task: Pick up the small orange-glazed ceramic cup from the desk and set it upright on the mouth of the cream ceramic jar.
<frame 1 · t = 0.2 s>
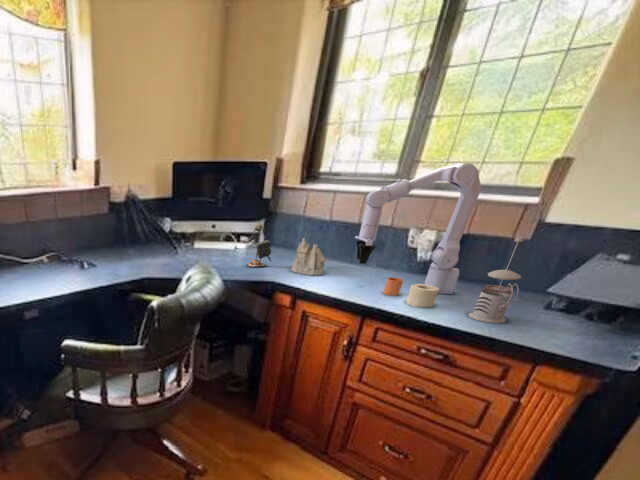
hand: (361, 261, 165), 10 cm above the table, tool pointing down, fingers open, 7 cm apart
cup: (391, 293, 160), on the table
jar: (419, 303, 149), on the table
ceramic cottage: (309, 271, 193), on the table
french press: (488, 318, 135), on the table
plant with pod: (258, 266, 203), on the table
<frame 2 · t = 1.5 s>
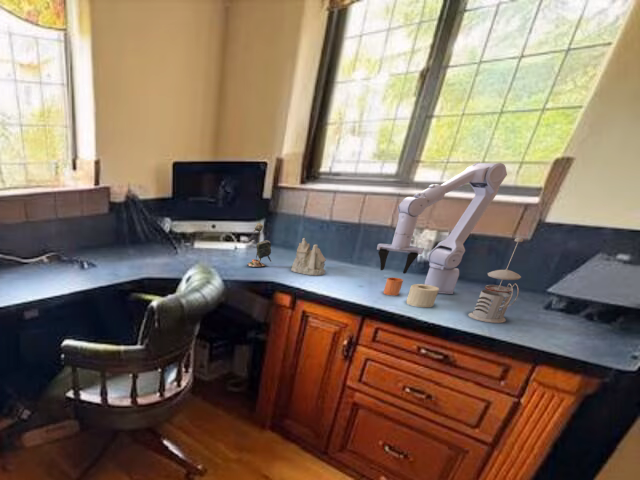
hand: (393, 271, 157), 8 cm above the table, tool pointing down, fingers open, 7 cm apart
nothing on the table moved.
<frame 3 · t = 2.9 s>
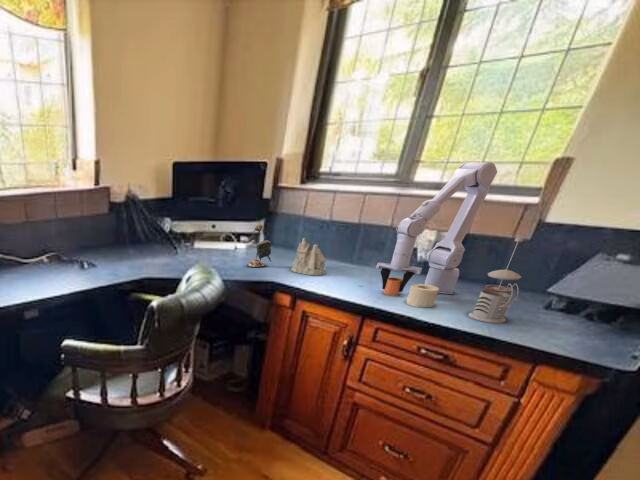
hand: (392, 289, 160), 1 cm above the table, tool pointing down, fingers closed on cup, 5 cm apart
cup: (391, 293, 160), on the table, touching gripper
everything else where it was.
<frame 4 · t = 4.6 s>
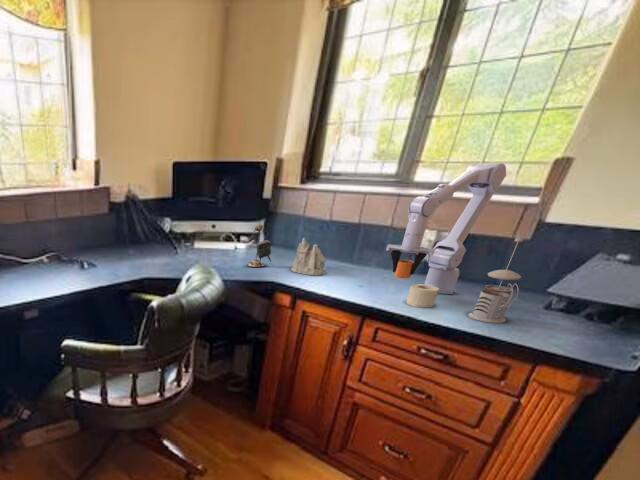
hand: (403, 272, 154), 9 cm above the table, tool pointing down, fingers closed on cup, 5 cm apart
cup: (402, 276, 155), point 7 cm above the table, touching gripper
everything else where it was.
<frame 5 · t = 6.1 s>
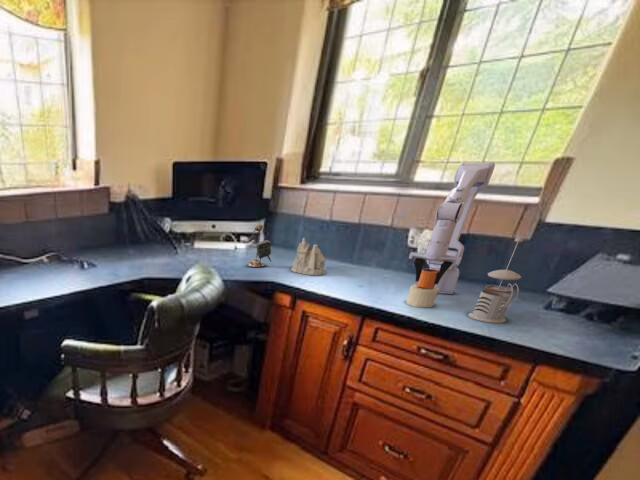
hand: (426, 282, 145), 8 cm above the table, tool pointing down, fingers closed on cup, 5 cm apart
cup: (425, 286, 146), point 6 cm above the table, touching gripper
everything else where it was.
when the fingers open (7 cm above the table, at t = 6.7 s): cup stays where it is, resting on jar.
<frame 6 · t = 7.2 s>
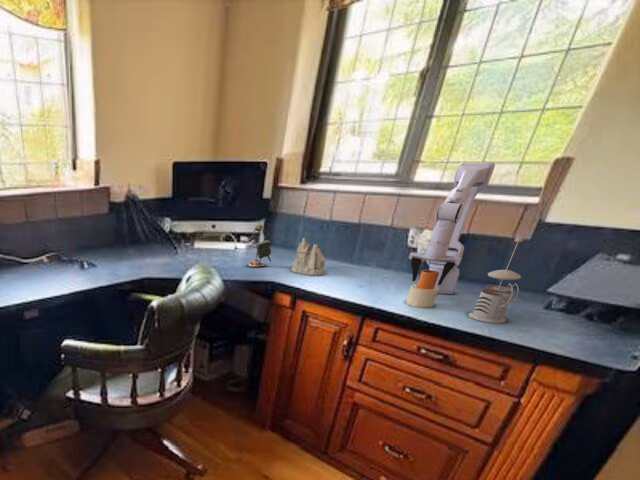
hand: (426, 282, 145), 8 cm above the table, tool pointing down, fingers open, 7 cm apart
cup: (425, 287, 146), point 6 cm above the table, touching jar
everything else where it was.
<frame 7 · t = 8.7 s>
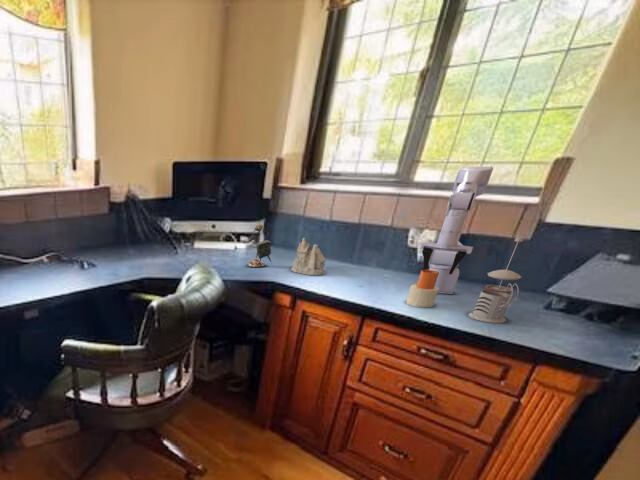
hand: (437, 272, 147), 10 cm above the table, tool pointing down, fingers open, 7 cm apart
nothing on the table moved.
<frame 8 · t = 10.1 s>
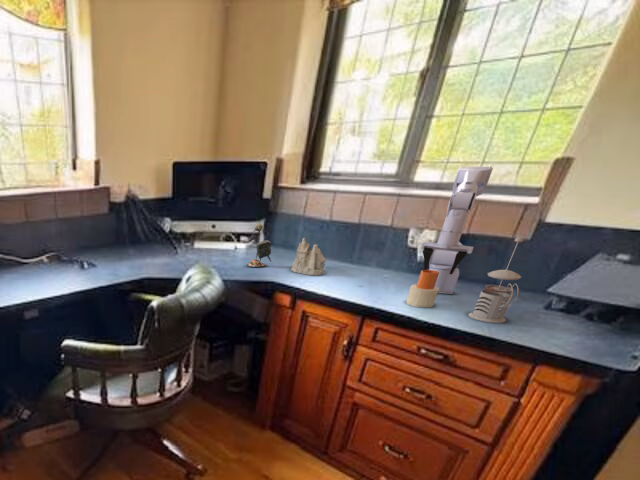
hand: (438, 271, 147), 10 cm above the table, tool pointing down, fingers open, 7 cm apart
nothing on the table moved.
at the end: cup 0.1 cm off-centre on the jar, point 6.0 cm above the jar's base; cup tilted 0°; the gripper is holding nothing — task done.
